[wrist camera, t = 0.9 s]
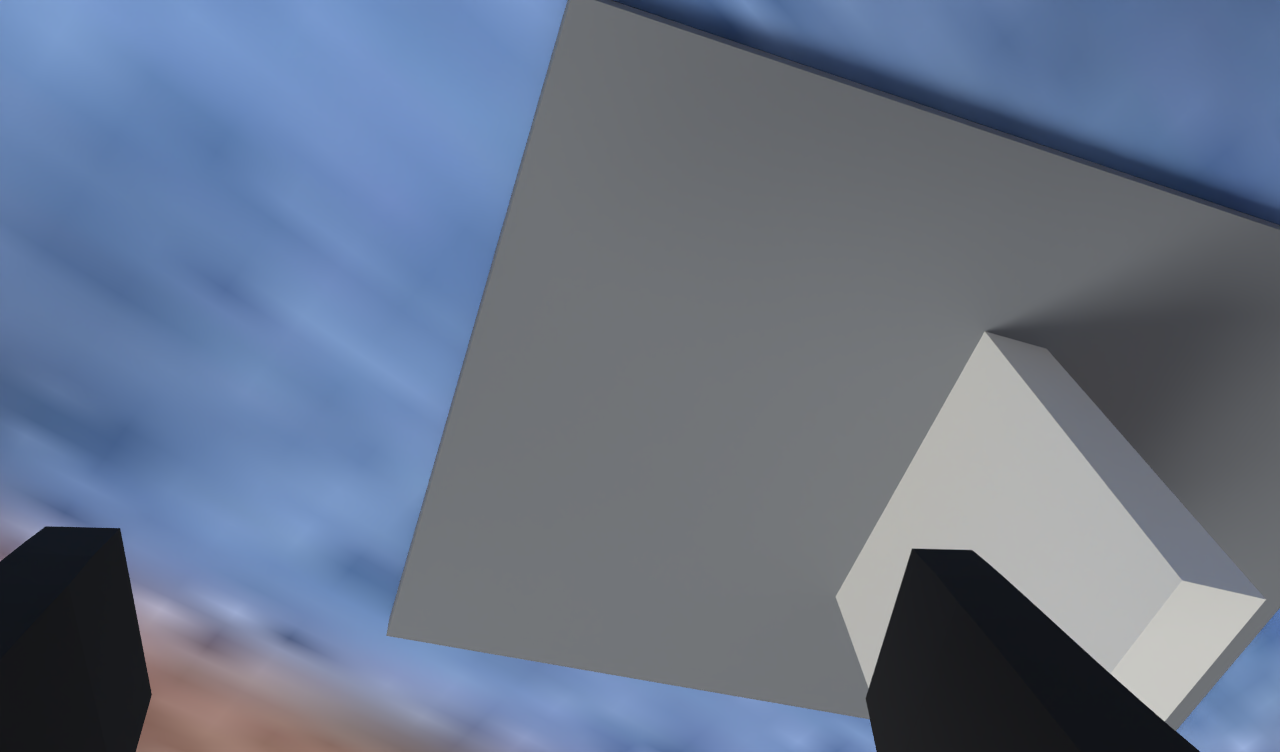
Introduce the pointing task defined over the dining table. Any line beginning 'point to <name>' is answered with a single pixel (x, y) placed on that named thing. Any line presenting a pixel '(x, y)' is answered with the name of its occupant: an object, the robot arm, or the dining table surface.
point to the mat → (799, 359)
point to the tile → (1056, 528)
